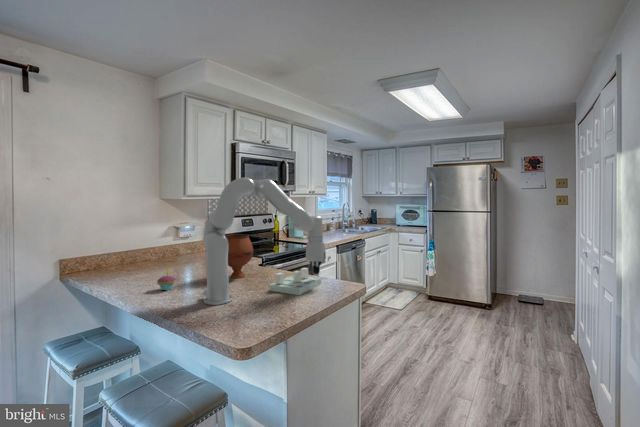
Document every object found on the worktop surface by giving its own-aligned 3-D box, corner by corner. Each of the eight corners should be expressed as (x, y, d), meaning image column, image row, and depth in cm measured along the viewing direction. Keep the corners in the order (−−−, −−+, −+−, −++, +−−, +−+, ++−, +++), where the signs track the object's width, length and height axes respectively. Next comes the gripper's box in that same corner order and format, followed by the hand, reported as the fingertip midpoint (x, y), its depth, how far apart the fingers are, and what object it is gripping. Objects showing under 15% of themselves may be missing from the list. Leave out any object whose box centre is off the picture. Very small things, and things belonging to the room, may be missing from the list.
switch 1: (275, 283, 167) (275, 273, 166) (279, 282, 169) (278, 272, 169) (280, 284, 165) (280, 274, 165) (283, 282, 168) (283, 273, 168)
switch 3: (300, 278, 177) (300, 268, 177) (303, 276, 180) (303, 267, 180) (305, 278, 176) (305, 269, 175) (308, 277, 178) (308, 268, 178)
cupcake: (165, 287, 176) (164, 264, 175) (179, 287, 174) (178, 265, 173) (153, 291, 167) (152, 268, 166) (168, 292, 165) (167, 269, 165)
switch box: (269, 290, 166) (269, 284, 166) (292, 280, 186) (292, 274, 185) (299, 295, 158) (299, 288, 158) (320, 283, 177) (320, 278, 177)
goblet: (235, 283, 182) (233, 238, 180) (214, 278, 193) (212, 236, 192) (260, 275, 197) (259, 234, 195) (240, 271, 208) (239, 232, 207)
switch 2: (293, 281, 170) (293, 271, 170) (296, 280, 173) (296, 270, 173) (298, 282, 169) (298, 272, 169) (301, 280, 172) (301, 271, 171)
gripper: (299, 239, 173) (300, 273, 175) (325, 241, 167) (325, 276, 168) (306, 237, 180) (307, 270, 181) (331, 239, 173) (332, 273, 174)
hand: (316, 273), depth 175 cm, fingers closed
